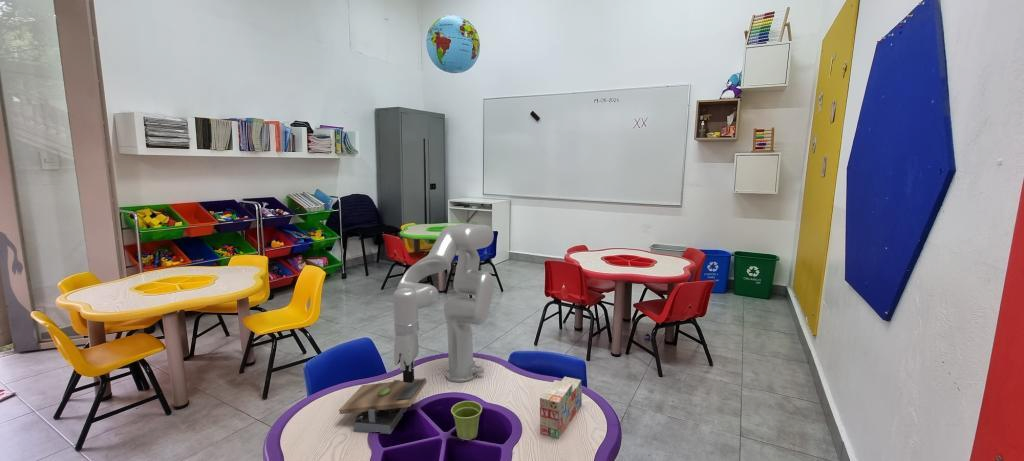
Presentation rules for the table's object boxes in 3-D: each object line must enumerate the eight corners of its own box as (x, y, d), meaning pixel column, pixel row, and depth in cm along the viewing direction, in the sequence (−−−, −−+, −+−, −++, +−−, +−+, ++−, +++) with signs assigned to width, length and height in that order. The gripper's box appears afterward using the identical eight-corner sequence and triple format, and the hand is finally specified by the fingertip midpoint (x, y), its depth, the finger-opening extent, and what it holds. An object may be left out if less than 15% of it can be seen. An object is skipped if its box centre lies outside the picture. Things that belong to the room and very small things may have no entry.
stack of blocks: (564, 401, 156) (564, 367, 154) (582, 405, 153) (582, 371, 151) (539, 434, 137) (539, 397, 136) (558, 439, 135) (558, 401, 133)
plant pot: (484, 426, 142) (483, 400, 141) (481, 444, 133) (480, 417, 131) (454, 426, 142) (453, 400, 141) (449, 444, 133) (448, 417, 132)
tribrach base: (414, 398, 159) (413, 380, 158) (390, 434, 139) (388, 413, 138) (382, 396, 161) (381, 378, 160) (354, 431, 140) (352, 410, 139)
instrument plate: (427, 384, 155) (425, 375, 154) (410, 409, 139) (408, 399, 139) (364, 391, 159) (361, 382, 158) (340, 417, 143) (338, 407, 143)
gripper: (404, 319, 151) (406, 370, 154) (385, 335, 137) (388, 391, 139) (425, 320, 150) (427, 371, 153) (409, 336, 136) (411, 393, 138)
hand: (408, 381), depth 146 cm, fingers closed
